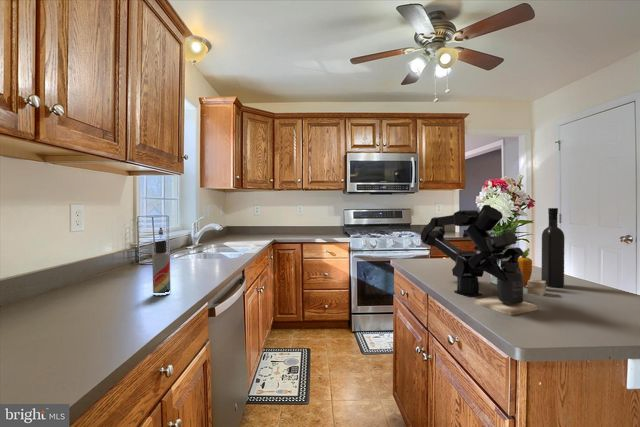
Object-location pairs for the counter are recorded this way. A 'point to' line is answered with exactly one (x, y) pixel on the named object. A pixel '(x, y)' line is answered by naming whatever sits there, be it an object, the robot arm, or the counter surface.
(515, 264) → the supplement bottle
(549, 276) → the wine bottle
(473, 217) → the robot arm
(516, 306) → the maple board
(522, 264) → the carrot
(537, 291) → the oak block
